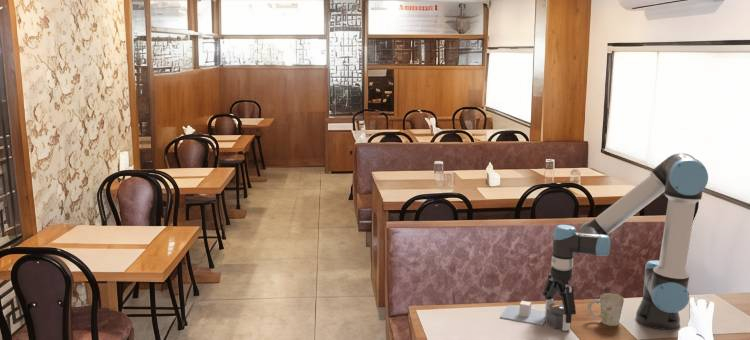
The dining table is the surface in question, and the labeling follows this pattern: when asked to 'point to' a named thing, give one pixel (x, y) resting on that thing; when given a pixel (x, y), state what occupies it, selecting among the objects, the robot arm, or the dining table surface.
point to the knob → (555, 315)
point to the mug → (608, 308)
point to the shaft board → (531, 319)
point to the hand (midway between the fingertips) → (557, 322)
